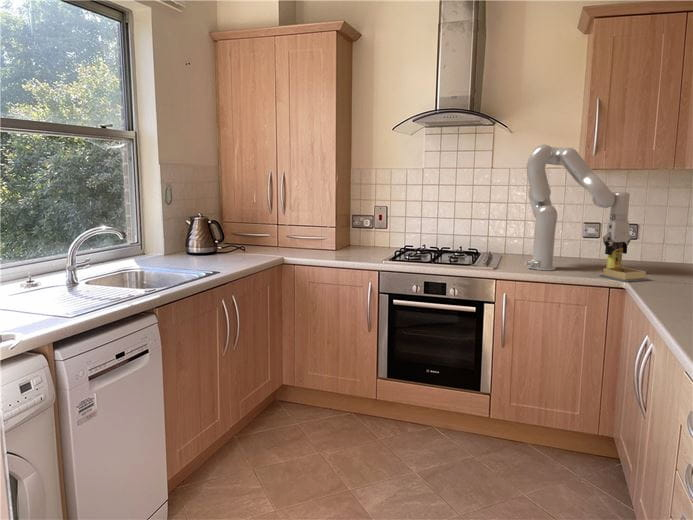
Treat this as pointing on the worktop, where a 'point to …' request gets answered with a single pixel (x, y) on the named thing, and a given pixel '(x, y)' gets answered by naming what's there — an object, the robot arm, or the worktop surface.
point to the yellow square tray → (624, 274)
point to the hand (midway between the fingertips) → (615, 253)
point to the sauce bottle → (615, 256)
